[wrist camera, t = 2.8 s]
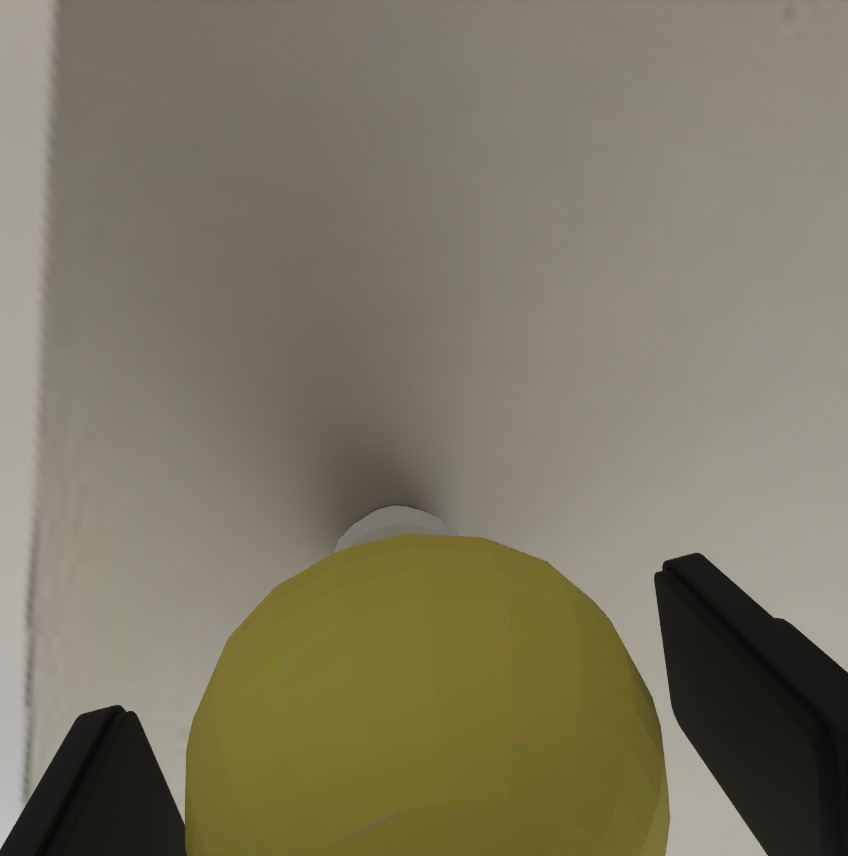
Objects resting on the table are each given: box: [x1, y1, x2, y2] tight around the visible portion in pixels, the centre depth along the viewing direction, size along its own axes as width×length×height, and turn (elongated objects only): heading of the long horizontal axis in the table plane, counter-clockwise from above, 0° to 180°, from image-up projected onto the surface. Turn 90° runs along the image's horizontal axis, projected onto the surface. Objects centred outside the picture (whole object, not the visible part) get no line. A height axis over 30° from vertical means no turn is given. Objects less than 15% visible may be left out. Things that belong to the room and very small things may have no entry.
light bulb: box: [185, 506, 670, 856], centre depth 11 cm, size 7×7×10 cm
